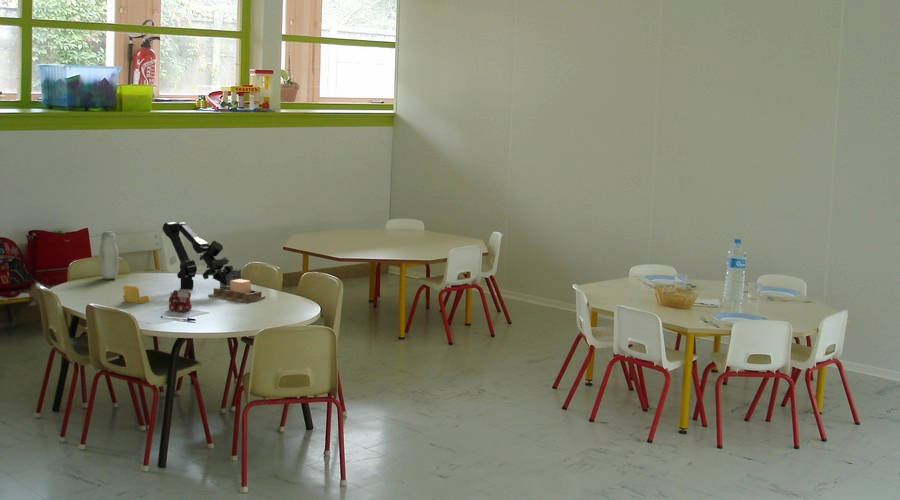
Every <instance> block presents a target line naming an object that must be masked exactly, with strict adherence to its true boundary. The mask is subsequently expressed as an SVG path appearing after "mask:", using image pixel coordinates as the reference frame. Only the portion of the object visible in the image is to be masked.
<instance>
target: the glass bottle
mask: <svg viewBox="0 0 900 500" xmlns="http://www.w3.org/2000/svg"><path fill="white" fill-rule="evenodd" d="M100 237H101V238H100V245H99V250H98V251H99V252H98V257H99V259H98V260H99V261H98V262H99V273H100V275H101V277H102V278H103V279H105V280H112V279H113V280H114V279H115V278H116V277H117V275H118V274H119V268H120V267H119V249H118V245H117V242H116V234H115V233H114V231H112V230H105V231H103V232H102V233H101V236H100Z"/></svg>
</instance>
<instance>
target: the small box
mask: <svg viewBox="0 0 900 500" xmlns="http://www.w3.org/2000/svg"><path fill="white" fill-rule="evenodd" d="M241 272H242V269H239V268H234V269H233V270H232V271H231V272H230V273H229V274H228V275H225V276H226V281H227V284H226V285H224V284H223V283H221V282H219V289H224V288H225V286H230V281H232V280H237V279H242V273H241Z"/></svg>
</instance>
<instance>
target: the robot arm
mask: <svg viewBox="0 0 900 500" xmlns="http://www.w3.org/2000/svg"><path fill="white" fill-rule="evenodd" d="M162 231H163V232H164V235H165V236H166V237H167V238H168V239H170V241H171V243H172V246H173V248H174V250H175V253H176V255H177V258H178V260H179V263H180V264H179V271H178V273H177V274H176V276H177V278H178V279H180V288H179V289H180V290H193V288H194V279H193V278H195V277H196V275H197V270H198V268H197V266H198V265H197V264H196V262H195V260H194V259H192V260H191V259H190V258H189V256H188V254H187V251H186V249H185V246H184V244H183V241H182V240H181V237H180V233H181V234H182V235H183V236H184V237H185V238H186V239H187V240H188V242H190V243H191V246H192V249H193V250H194V251H195V253H196V254H200V256H199V261H203V262H205V264H206V270H205V271H204V272H203V273H202V278H203V280H208V279H209V277H210V276H212V280H215V281H218V282H219V283H220V282H221V283H223V284H224V285H226V284H227V281H226V276H225V275H228V274H229V273H230V272H231V271H232V270H233V269H235V268H234V267H233V265H231V264H230V265H228V264H229V262H230V260H229V258H228V257H227V256H225V257H222V258H221V259H216V257H217V256H218V255H219V254H220V253H221V252H222V251H223V250H224V246H223V245H222V244H221V243H220V242H218V241H216V240H212V242H211V244H210V243H209V242H207V241H206V240H204V239H202V238H200V237H199V236H198V235H197V234H196V233H195V232H194V231H193V230H192V229H191V228H190V226H188V224H187V223H186V222H183V221H182V222H178V223H177V221H171V222H165V223H163V225H162Z"/></svg>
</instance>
